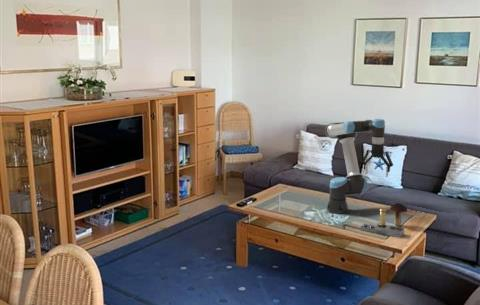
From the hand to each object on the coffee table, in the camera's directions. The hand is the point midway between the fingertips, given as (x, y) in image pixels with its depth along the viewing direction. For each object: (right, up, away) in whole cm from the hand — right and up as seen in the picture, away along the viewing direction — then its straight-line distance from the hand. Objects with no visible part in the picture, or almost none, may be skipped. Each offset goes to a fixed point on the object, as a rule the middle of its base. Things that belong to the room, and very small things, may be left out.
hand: (376, 175), depth 322 cm
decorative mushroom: (+14, -33, -1) cm, 35 cm away
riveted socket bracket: (0, -35, -12) cm, 37 cm away
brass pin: (0, -35, -12) cm, 37 cm away
